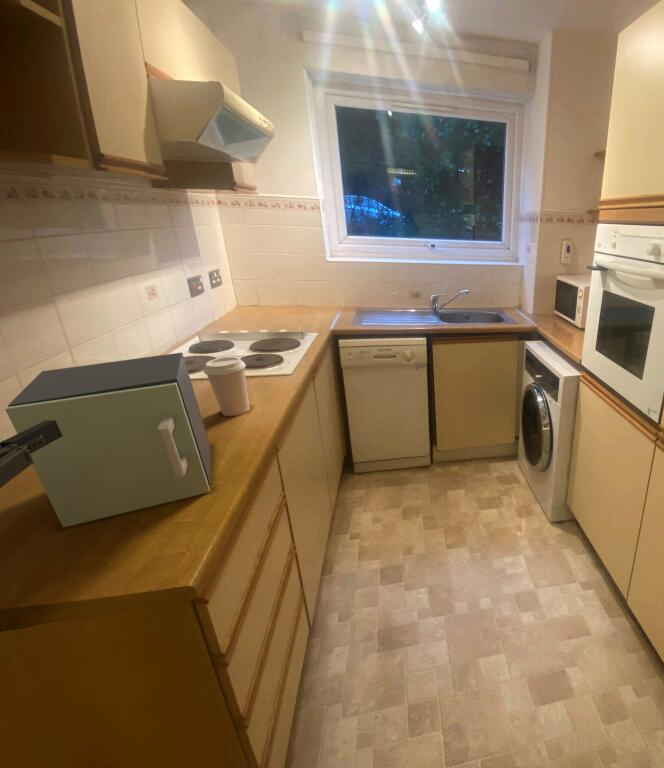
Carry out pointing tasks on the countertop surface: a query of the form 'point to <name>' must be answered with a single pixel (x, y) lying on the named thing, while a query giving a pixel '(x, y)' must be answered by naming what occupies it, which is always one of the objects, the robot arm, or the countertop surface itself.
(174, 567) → the countertop surface
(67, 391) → the cupboard
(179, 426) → the door
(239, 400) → the coffee cup
